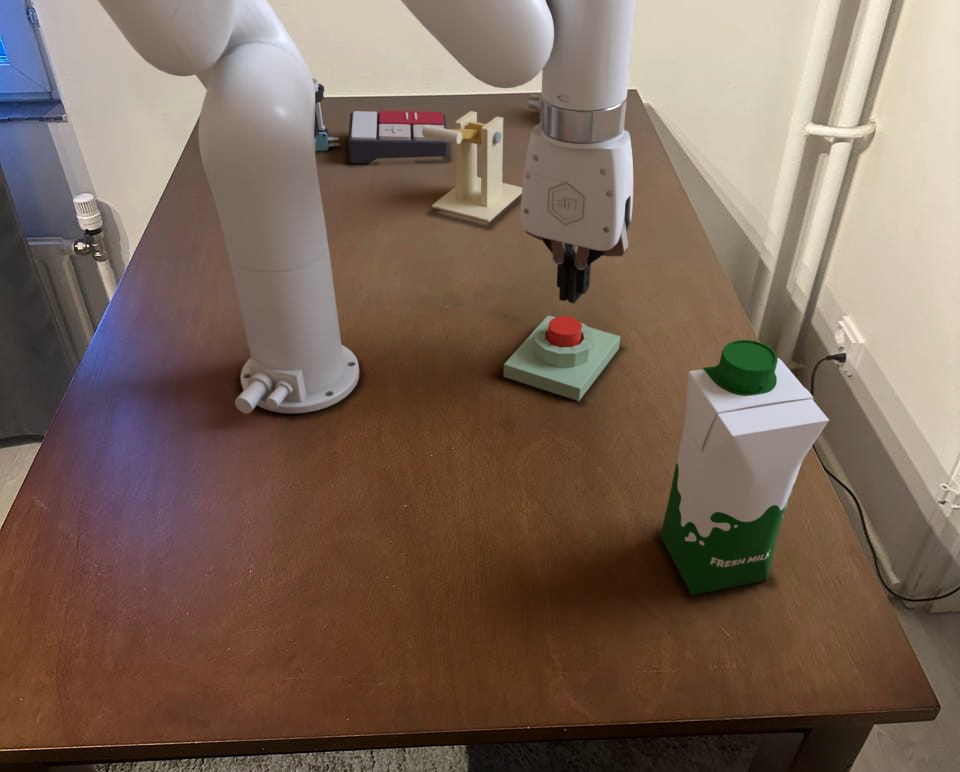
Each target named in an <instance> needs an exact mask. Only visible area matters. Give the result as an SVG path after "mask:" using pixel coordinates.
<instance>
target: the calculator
mask: <svg viewBox="0 0 960 772" xmlns="http://www.w3.org/2000/svg"><path fill="white" fill-rule="evenodd" d="M443 113H444V112H442V111H416V110H415V111H412V110H379V112H377V111H362V110H354V111H352V112H351V113H350V115H349V127H348V136H347V137H348V138H347V144H348V161H349V163H350V164H365V165H366V164H368V165H369V164H371V163H373V162H374V161H376V160H377V159H395V158H397V159H398V158H399V159H401V158H429V157H434V158H435V157H448V156H449V142H445V141H441V140H436V139H432V138H427V137H424V136H423V134H422V129H423V127H424V125H431V126H435V127H440V128H444V129H448V125H447V118H446V115H445V114H443Z"/></svg>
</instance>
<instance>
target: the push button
mask: <svg viewBox="0 0 960 772" xmlns="http://www.w3.org/2000/svg"><path fill="white" fill-rule="evenodd" d="M312 79H313V83H314V89H315V125H314V144H315V152H322V151H324V152H325V151H328V150H329V148H330V147H336V146H337V147H339V146H340V143H339V142H330V141H339V139H340V137H333V136H330V135H329V129H328V128H326V126H325V125H324V123H323V116H322V108H321V102H322V101H323V100H324V98H325V96H324V95H325V94H324V92H325V86H324V85H323V84H321V83H318V80H317V79H316V78H314V77H312Z"/></svg>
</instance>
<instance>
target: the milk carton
mask: <svg viewBox="0 0 960 772" xmlns="http://www.w3.org/2000/svg"><path fill="white" fill-rule="evenodd" d="M829 421H830V419H829V418H828V417H827V415H826V414H825V413H824V412H823V411H822V409H821V408H820V407H819V406H818V405H817V403H816V402H815V401H814V396H813V395H812V394H811V393H810V391H809V390H808V389H807V388H806V387H804V385H802V383H801V382H800V381H799V379H798V378H797V377H796V376H795V374H794V373H793V372H792V371H791V370H790V369H789V368H788V367H787V366H786V364H785V363H784V362H783V360H781V358H779V357H778V355H777V353H776V351H775V350H774V349H773V348H771V347H770V346H768V345H767V344H765V343H763V342H760V341H757V340H751V339H737V340H733V341H730V342H729V343H727V344H725V345H724V347H723V349H722V350H721V354H720V358H719V363H718V364H716V365H714V366H707V367H703V369H695V370H690V371H688V375H687V387H686V400H685V413H684V422H683V429H682V434H681V440H680V444H679V449H678V453H677V459H676V463H675V468H674V473H673V477H672V482H671V487H670V492H669V495H668V496H669V497H668V501H667V505H666V511H665V514H664V519H663V523H662V527H661V531H660V538H661V540H662V542H663V543H664V546H665V547H666V549H667V550H668V553H669V555H670V557H671V559H672V560H673V563H674V564H675V566H676V568H677V570H678V572H679V574H680V575H681V578H682V579H683V581H684V584H685V585H686V587H687V589H688V591H689V592H690V595H691V596H695V595H700V594H704V593H705V594H706V593H711V592H714V591H720V590H725V589H731V588H735V587H740V586H746V585H752V584H756V583H757V584H758V583H763V582H766V581H768V580H769V576H770V570H771V566H772V561H773V557H774V553H775V548H776V545H777V539H778V534H779V531H780V528H781V525H782V522H783V518H784V517H785V513H786V510H787V507H788V504H789V501H790V498H791V496H792V492H793V489H794V486H795V483H796V481H797V478H798V475H799V471H800V469H801V466H802V464H803V461H804V460H805V458H806V456H807V454H808V453H809V451H810V450H811V448H812V447H813V445H814V444H815V442H816V441H817V439H818V437H819V436H820V435H821V433H822V432H823V431H824V429H825V427H826V426H827V425H828V423H829Z"/></svg>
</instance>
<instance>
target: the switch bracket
mask: <svg viewBox="0 0 960 772" xmlns="http://www.w3.org/2000/svg"><path fill="white" fill-rule="evenodd" d="M469 122H478V112H477V111H473V110H470V111H468V112H467V113H465V114H464V115H462V116H461V117H459V118H458V119H457V120H456V121H454V129H468V123H469ZM485 124H486V125H485V126H483V127H482V128H481V145H480V177H479V176H478V144H474V143H469V142H466V139H462V141H461V143H460V144H454V159H455V160H454V164H455V165H454V166H455V167H454V168H455V171H454V172H455V187H453V188H451V189H450V190H449V191H448V192H447V193H445V194H444V195H443V196H442V197H440V198H439V199H437V201H435V202H434V203H433V204H431V208H432V209H436V210H439V211H444V212H447V213H451V214H456V215H459V216H463V217H467V218H471V219H474V220H479V221H482V222H486V223H490V222H491V221H492V220H493V219H494V218H496V216H498V215H499V214H500V213H501V212H502V211H504V209H505V208H507V207H508V206H510V204H511V203H512V202H514V201H515V200H516V199H517V198H518V197H519V196H521V195H522V186H517V185H513V184H510V183H505V182H503V161H504V160H503V159H504V158H503V153H504V152H503V151H504V149H503V148H504V147H503V146H504V117H501V116H495V117H494V118H493V119H491V120H490V121H489V122H487V123H485Z"/></svg>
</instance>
